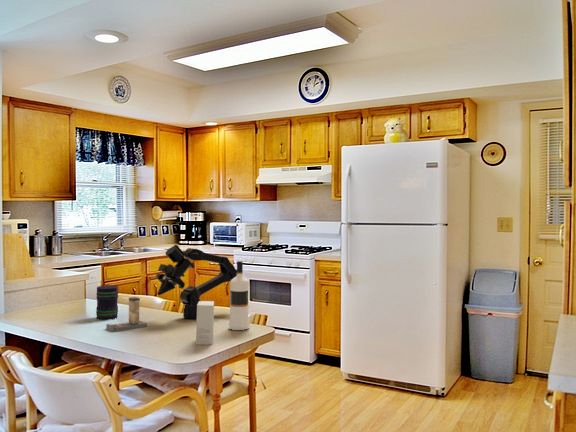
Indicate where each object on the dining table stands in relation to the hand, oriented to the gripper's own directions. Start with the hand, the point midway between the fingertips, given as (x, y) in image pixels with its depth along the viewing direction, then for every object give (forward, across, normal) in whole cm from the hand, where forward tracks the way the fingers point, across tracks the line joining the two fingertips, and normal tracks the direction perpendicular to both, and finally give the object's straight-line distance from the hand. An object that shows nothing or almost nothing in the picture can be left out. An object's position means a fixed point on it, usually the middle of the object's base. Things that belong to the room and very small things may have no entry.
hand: (158, 294), depth 226 cm
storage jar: (+19, -26, 0) cm, 32 cm away
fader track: (+20, 0, -2) cm, 20 cm away
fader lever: (+16, 0, 0) cm, 16 cm away
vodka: (-6, +32, +25) cm, 41 cm away
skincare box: (+11, +42, +8) cm, 44 cm away
